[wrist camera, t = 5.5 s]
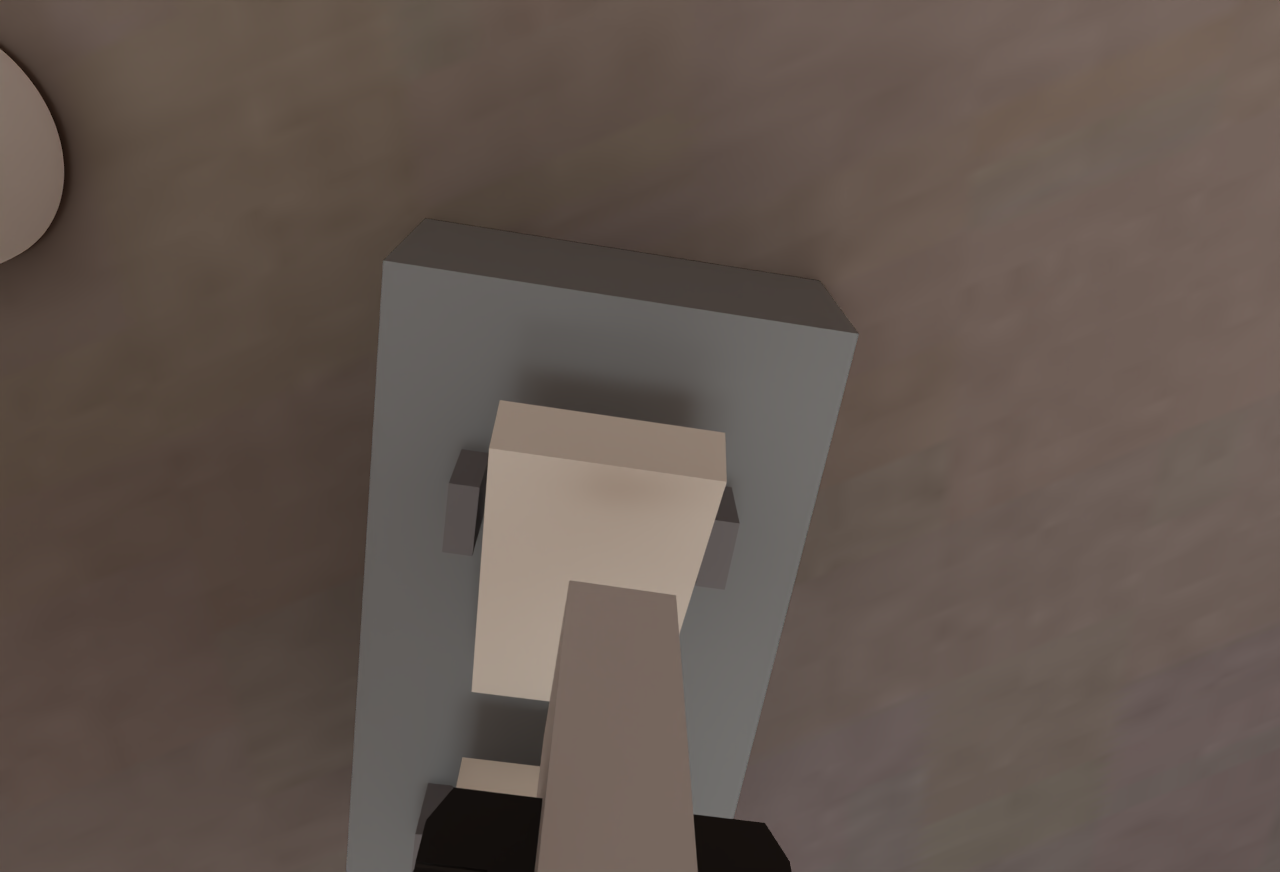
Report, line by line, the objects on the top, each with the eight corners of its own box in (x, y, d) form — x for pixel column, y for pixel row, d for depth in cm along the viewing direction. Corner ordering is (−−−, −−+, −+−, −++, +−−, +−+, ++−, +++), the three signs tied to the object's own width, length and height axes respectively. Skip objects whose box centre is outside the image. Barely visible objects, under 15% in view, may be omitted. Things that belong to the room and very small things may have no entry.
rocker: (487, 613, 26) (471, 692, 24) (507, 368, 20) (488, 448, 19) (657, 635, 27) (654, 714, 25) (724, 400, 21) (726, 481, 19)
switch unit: (379, 808, 35) (325, 985, 28) (425, 218, 27) (362, 281, 20) (692, 844, 36) (706, 1023, 29) (828, 282, 28) (889, 361, 21)
